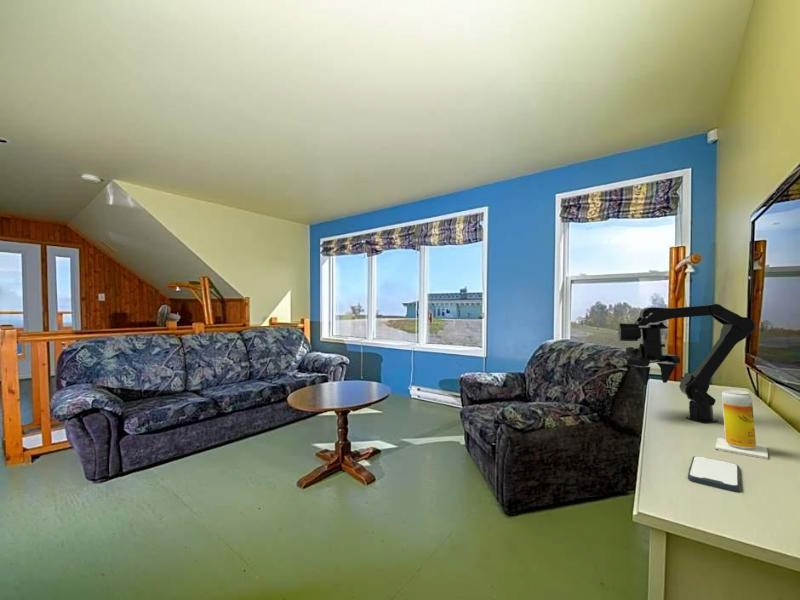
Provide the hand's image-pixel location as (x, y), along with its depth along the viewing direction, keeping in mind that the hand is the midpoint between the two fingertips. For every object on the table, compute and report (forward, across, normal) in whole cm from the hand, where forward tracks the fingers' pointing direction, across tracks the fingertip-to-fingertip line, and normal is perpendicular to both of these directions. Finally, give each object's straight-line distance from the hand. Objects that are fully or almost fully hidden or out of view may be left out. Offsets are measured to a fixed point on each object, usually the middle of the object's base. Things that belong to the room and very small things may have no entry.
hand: (654, 383), depth 126 cm
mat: (+12, +7, +30) cm, 33 cm away
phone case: (+13, +30, +38) cm, 50 cm away
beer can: (+12, +7, +29) cm, 32 cm away
